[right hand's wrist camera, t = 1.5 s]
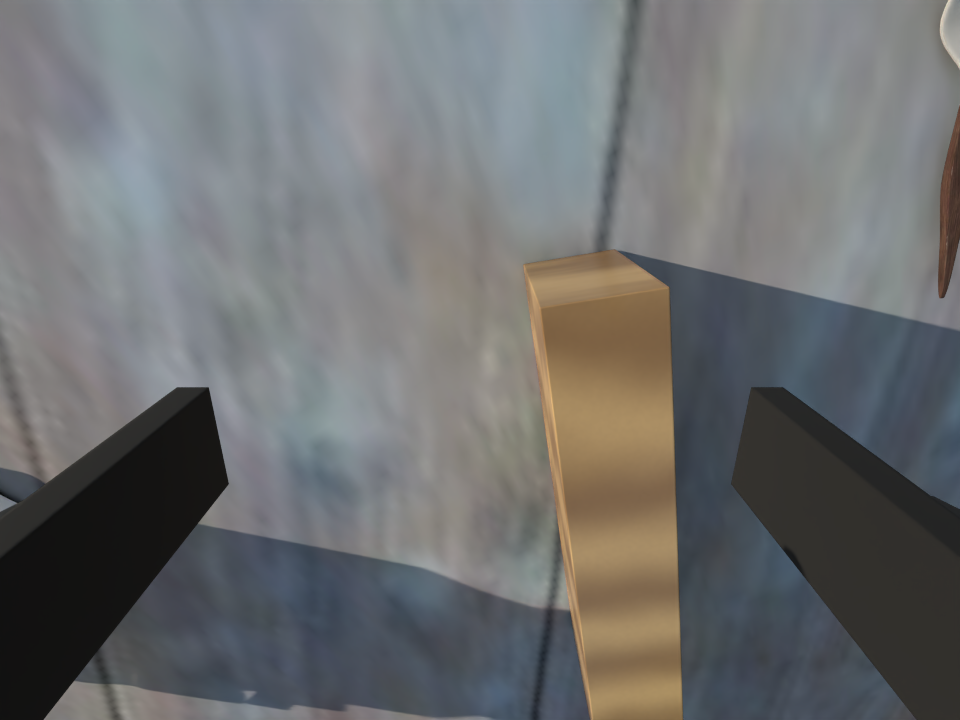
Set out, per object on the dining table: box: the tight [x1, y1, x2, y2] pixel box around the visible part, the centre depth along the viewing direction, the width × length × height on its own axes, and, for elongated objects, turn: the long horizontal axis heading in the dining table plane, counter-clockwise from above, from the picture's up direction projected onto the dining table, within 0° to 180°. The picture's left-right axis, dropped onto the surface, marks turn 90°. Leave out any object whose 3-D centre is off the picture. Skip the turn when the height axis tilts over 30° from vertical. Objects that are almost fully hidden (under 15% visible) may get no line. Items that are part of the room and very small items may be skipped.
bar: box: [523, 249, 683, 720], centre depth 27 cm, size 26×5×8 cm, turn 9°
